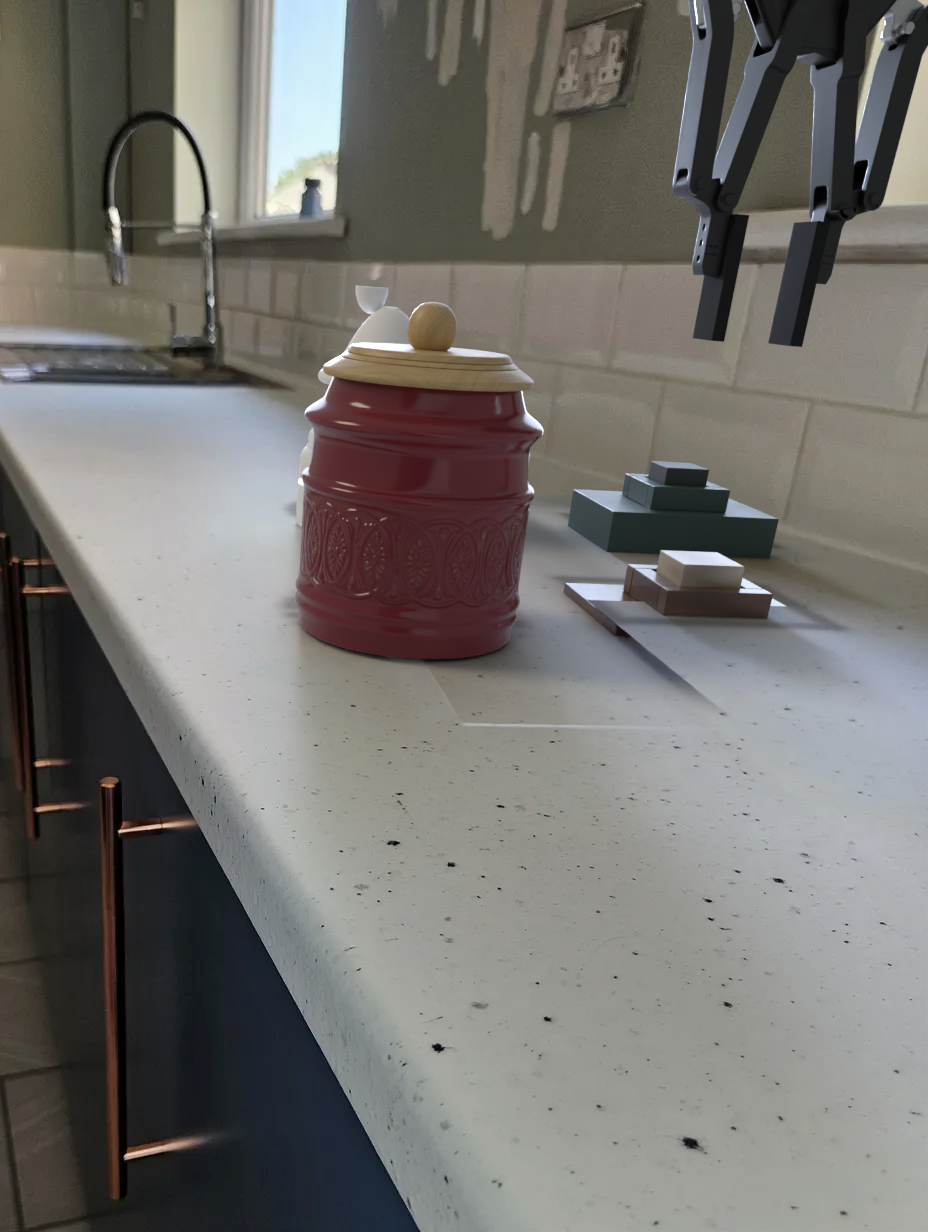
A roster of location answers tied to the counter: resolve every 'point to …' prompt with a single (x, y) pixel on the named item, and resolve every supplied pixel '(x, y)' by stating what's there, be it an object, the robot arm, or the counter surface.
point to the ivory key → (699, 569)
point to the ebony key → (678, 474)
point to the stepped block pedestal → (672, 597)
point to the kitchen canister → (416, 497)
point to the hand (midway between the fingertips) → (746, 341)
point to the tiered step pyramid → (671, 520)
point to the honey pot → (375, 329)
